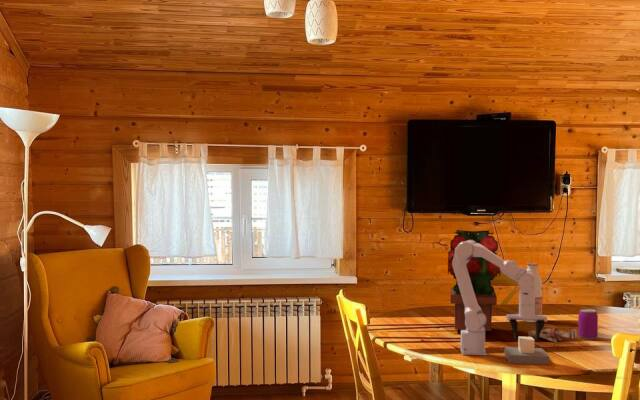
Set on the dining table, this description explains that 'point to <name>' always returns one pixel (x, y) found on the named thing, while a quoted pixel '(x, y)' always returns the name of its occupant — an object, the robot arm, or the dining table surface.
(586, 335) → the beverage can
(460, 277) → the robot arm
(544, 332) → the figurine
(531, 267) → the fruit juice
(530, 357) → the plinth
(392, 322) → the dining table surface
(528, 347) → the cube
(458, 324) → the potted plant
